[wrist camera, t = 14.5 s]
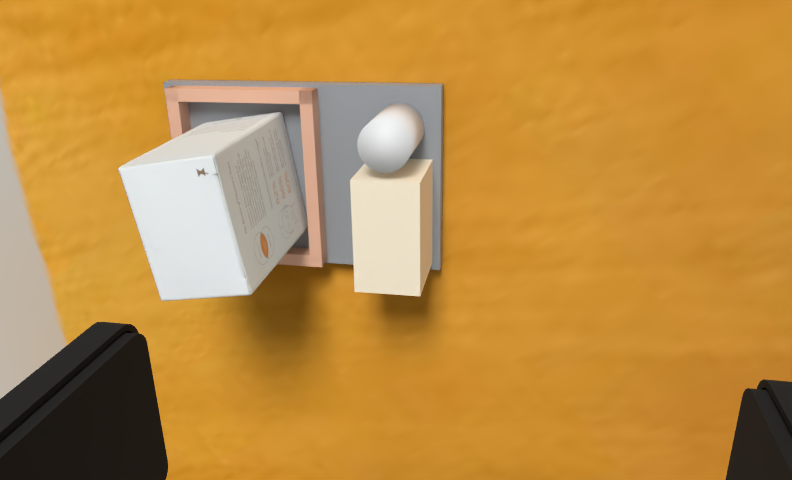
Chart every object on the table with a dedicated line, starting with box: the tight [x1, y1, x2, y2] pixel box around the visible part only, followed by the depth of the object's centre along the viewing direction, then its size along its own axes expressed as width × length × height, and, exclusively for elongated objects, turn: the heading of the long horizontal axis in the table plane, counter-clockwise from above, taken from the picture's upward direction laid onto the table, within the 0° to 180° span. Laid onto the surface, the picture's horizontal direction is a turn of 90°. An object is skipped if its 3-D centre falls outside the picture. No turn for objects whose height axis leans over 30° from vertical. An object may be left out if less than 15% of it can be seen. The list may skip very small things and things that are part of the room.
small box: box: [118, 112, 308, 301], centre depth 40 cm, size 8×6×10 cm
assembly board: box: [164, 80, 444, 296], centre depth 43 cm, size 18×12×6 cm, turn 91°
